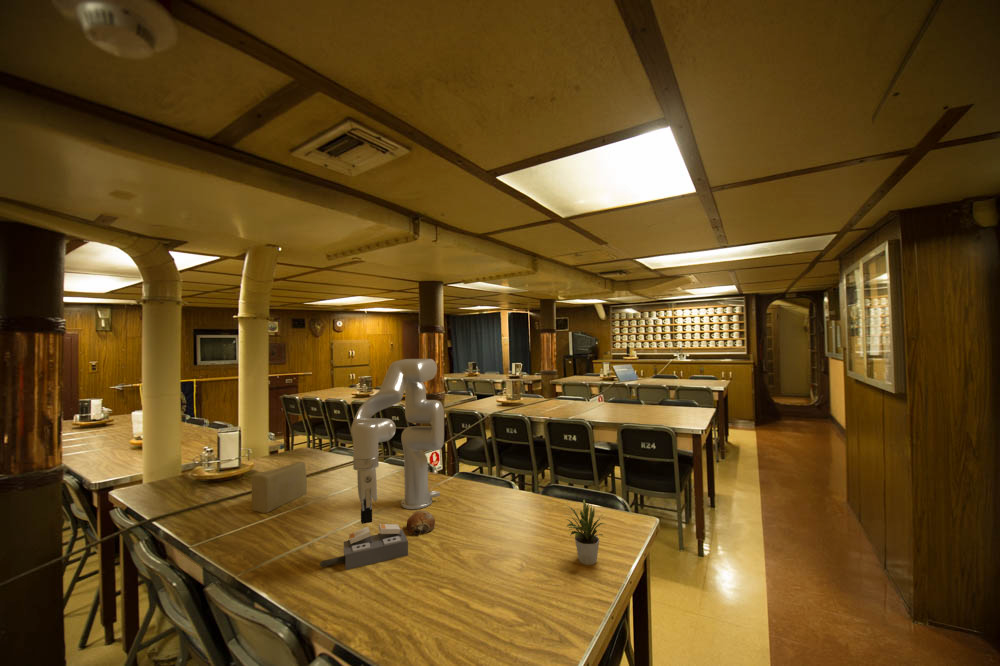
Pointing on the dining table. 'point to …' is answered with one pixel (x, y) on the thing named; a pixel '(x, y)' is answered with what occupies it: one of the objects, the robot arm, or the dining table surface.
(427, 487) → the robot arm
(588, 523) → the house plant
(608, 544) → the dining table surface
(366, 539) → the power strip
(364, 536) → the block
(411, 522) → the brown round lump
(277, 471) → the beige slab
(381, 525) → the rocker
